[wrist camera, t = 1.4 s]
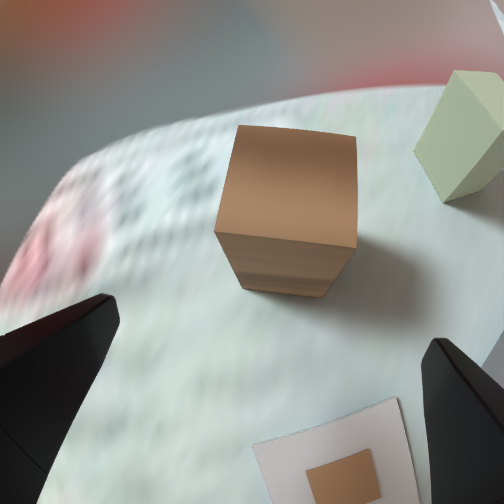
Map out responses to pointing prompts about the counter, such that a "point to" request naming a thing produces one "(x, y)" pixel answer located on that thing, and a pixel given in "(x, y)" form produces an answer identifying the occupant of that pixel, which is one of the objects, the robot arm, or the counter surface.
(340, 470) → the card
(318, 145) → the walnut block
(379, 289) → the counter surface
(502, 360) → the base block
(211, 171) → the counter surface
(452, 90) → the sage block
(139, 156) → the counter surface
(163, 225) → the counter surface
